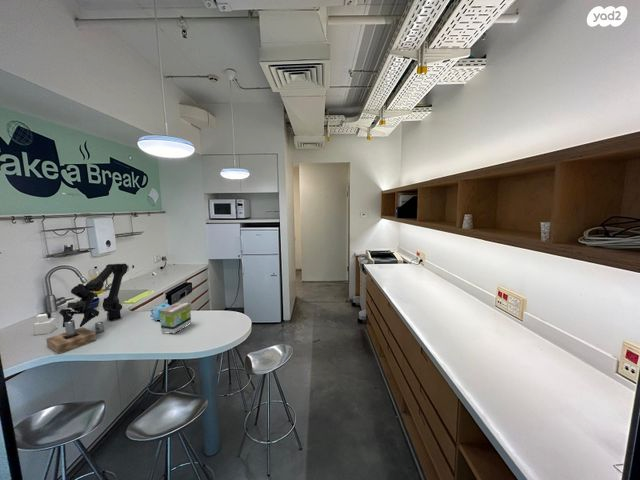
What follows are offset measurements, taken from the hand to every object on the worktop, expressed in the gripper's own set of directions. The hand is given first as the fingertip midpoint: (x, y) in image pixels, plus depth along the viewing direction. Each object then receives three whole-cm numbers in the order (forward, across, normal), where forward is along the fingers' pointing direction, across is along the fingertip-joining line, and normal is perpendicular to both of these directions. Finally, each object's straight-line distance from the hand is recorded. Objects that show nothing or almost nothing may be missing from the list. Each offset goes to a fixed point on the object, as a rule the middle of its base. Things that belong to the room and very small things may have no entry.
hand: (71, 327), depth 148 cm
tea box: (-4, +51, +18) cm, 54 cm away
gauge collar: (+7, 0, +6) cm, 9 cm away
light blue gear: (-15, +35, +29) cm, 48 cm away
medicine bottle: (-3, -28, +16) cm, 33 cm away
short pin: (-2, +6, +15) cm, 16 cm away
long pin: (+7, 0, +6) cm, 9 cm away
